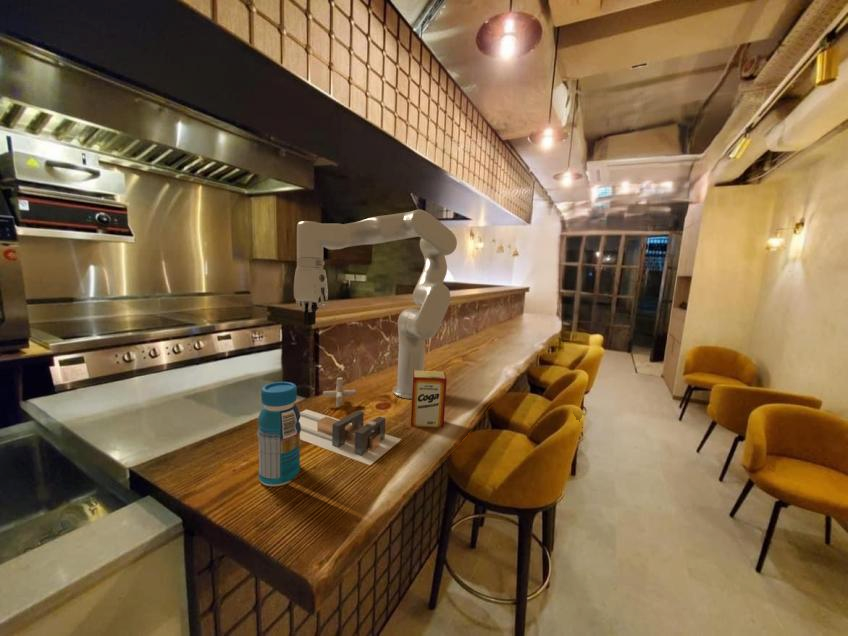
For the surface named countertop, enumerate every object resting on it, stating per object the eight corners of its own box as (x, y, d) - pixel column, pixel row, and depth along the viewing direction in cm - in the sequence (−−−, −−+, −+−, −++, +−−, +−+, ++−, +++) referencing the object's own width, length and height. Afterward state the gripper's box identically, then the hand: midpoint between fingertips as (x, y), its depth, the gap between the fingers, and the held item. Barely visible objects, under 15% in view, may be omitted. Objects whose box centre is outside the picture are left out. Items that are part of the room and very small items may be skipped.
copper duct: (317, 432, 90) (317, 420, 89) (325, 427, 92) (326, 416, 92) (372, 451, 81) (372, 439, 81) (379, 445, 84) (380, 433, 84)
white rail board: (306, 412, 103) (306, 407, 103) (401, 442, 88) (401, 436, 88) (267, 430, 91) (267, 424, 91) (370, 469, 76) (370, 462, 76)
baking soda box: (410, 429, 96) (413, 375, 94) (410, 419, 103) (413, 369, 100) (443, 430, 96) (446, 377, 94) (441, 420, 103) (444, 370, 101)
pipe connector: (322, 415, 102) (323, 384, 100) (323, 402, 111) (323, 373, 110) (356, 413, 104) (356, 382, 103) (353, 401, 114) (354, 373, 113)
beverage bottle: (253, 490, 67) (251, 394, 64) (263, 466, 75) (261, 380, 72) (298, 486, 69) (298, 393, 66) (302, 463, 77) (303, 379, 74)
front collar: (378, 436, 89) (379, 414, 88) (384, 438, 88) (385, 416, 87) (354, 453, 80) (355, 429, 79) (361, 455, 79) (362, 431, 79)
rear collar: (357, 429, 92) (357, 410, 91) (363, 431, 91) (363, 411, 91) (332, 445, 83) (332, 424, 83) (338, 447, 82) (338, 426, 82)
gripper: (338, 265, 101) (336, 325, 103) (301, 263, 107) (301, 320, 110) (319, 264, 94) (319, 329, 96) (282, 262, 100) (282, 322, 103)
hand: (309, 324), depth 103 cm, fingers closed
